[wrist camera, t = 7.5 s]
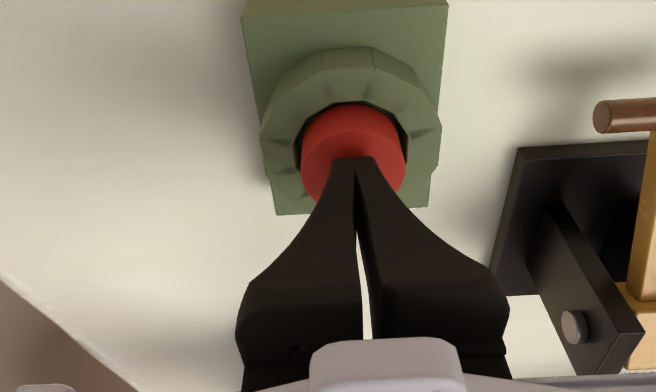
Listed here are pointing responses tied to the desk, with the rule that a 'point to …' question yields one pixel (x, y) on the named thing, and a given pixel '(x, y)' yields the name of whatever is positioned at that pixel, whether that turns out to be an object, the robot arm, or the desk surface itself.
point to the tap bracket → (575, 245)
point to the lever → (638, 222)
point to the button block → (345, 80)
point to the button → (350, 145)
